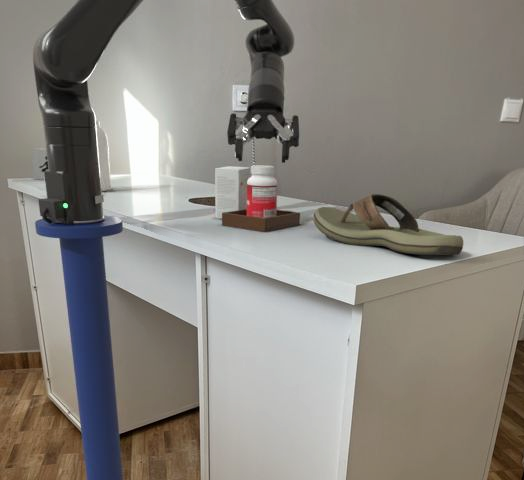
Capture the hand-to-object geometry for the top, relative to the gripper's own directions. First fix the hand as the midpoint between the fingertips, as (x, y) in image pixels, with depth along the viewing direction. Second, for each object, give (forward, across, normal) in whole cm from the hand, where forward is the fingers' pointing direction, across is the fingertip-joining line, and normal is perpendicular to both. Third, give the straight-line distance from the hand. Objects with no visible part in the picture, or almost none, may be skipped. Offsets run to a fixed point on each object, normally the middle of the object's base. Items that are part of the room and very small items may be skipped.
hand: (261, 159), depth 108 cm
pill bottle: (+8, 0, +10) cm, 13 cm away
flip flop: (+21, +22, -2) cm, 31 cm away
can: (-31, -54, +49) cm, 79 cm away
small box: (+2, -6, +17) cm, 18 cm away
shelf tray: (+8, 0, +10) cm, 13 cm away
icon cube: (-55, -80, +74) cm, 122 cm away
